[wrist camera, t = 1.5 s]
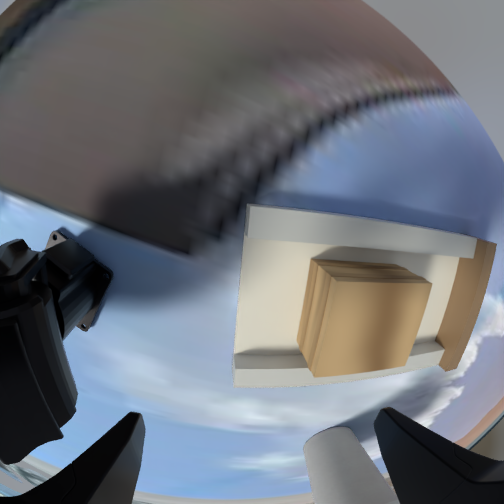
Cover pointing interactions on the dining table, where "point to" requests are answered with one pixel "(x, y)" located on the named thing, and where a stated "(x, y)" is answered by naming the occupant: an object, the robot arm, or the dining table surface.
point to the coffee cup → (344, 470)
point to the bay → (347, 249)
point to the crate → (359, 316)
